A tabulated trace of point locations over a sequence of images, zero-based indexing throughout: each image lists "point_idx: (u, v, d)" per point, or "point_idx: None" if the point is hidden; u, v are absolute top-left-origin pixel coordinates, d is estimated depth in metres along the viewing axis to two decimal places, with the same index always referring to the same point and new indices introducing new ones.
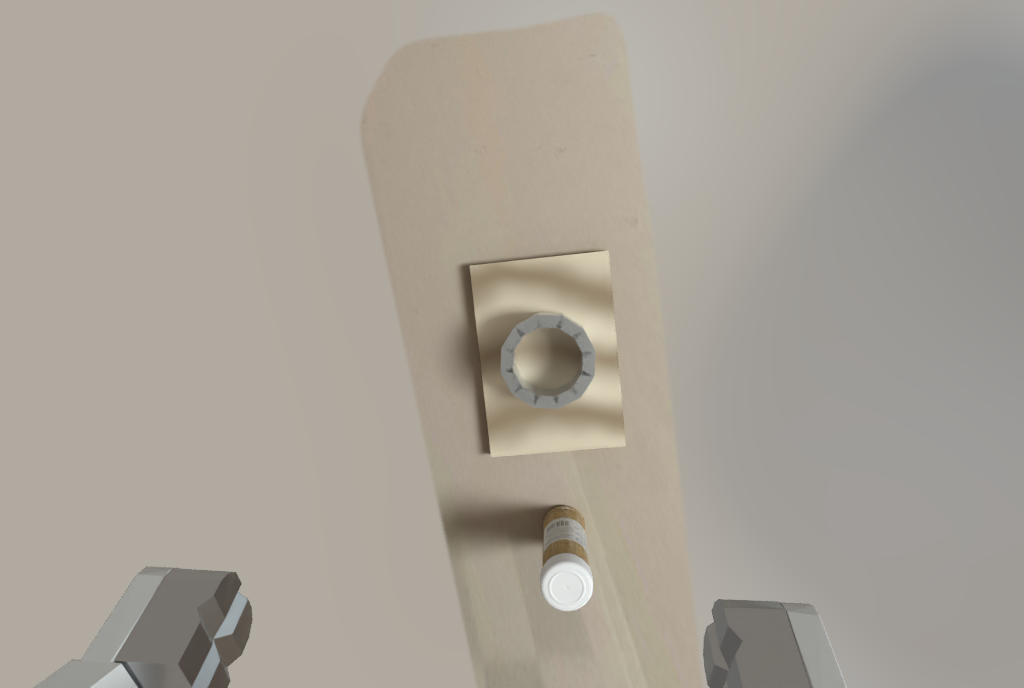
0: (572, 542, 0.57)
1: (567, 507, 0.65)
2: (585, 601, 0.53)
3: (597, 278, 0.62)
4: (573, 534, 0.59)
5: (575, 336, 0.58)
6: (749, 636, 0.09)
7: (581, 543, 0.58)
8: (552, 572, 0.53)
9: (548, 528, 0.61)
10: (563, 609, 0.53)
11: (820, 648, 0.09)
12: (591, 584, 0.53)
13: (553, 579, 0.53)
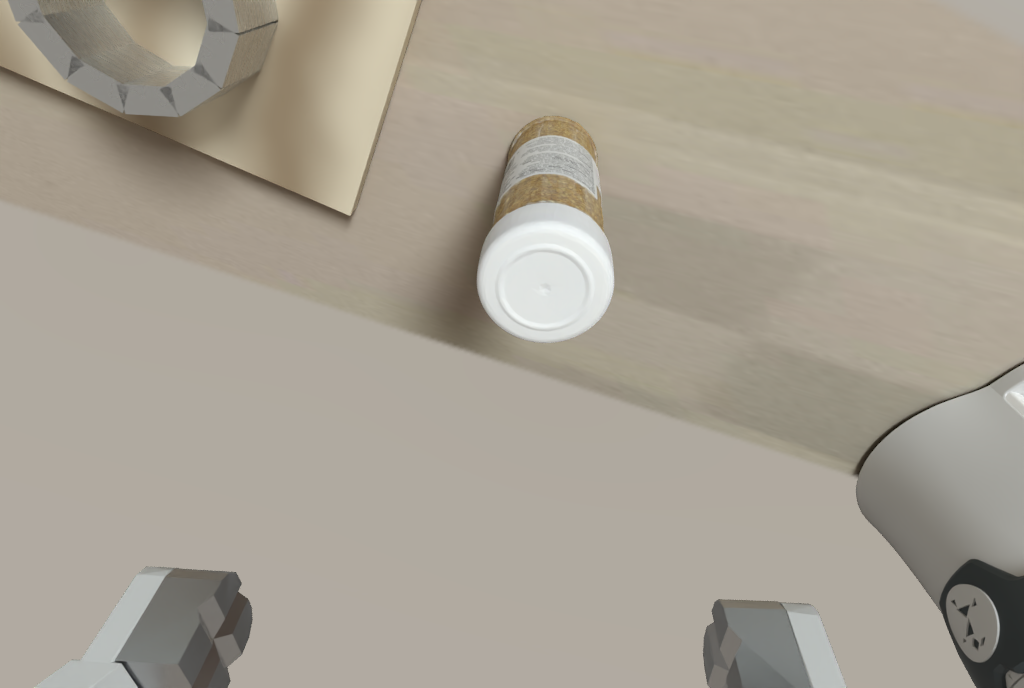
0: (510, 193, 0.23)
1: (518, 134, 0.30)
2: (604, 268, 0.19)
3: None
4: (514, 174, 0.24)
5: None
6: (749, 636, 0.09)
7: (534, 170, 0.23)
8: (491, 298, 0.20)
9: None
10: (591, 322, 0.21)
11: (820, 648, 0.09)
12: (572, 232, 0.19)
13: (507, 304, 0.20)
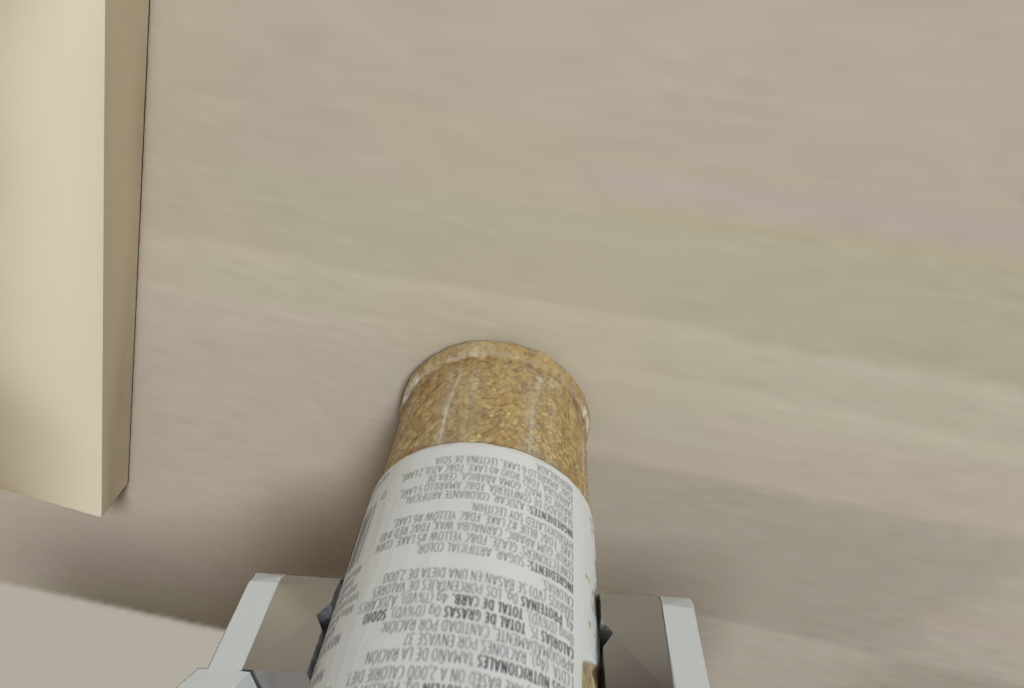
0: None
1: (414, 378, 0.14)
2: None
3: None
4: (331, 676, 0.08)
5: None
6: (620, 628, 0.09)
7: None
8: None
9: None
10: None
11: (688, 640, 0.09)
12: None
13: None
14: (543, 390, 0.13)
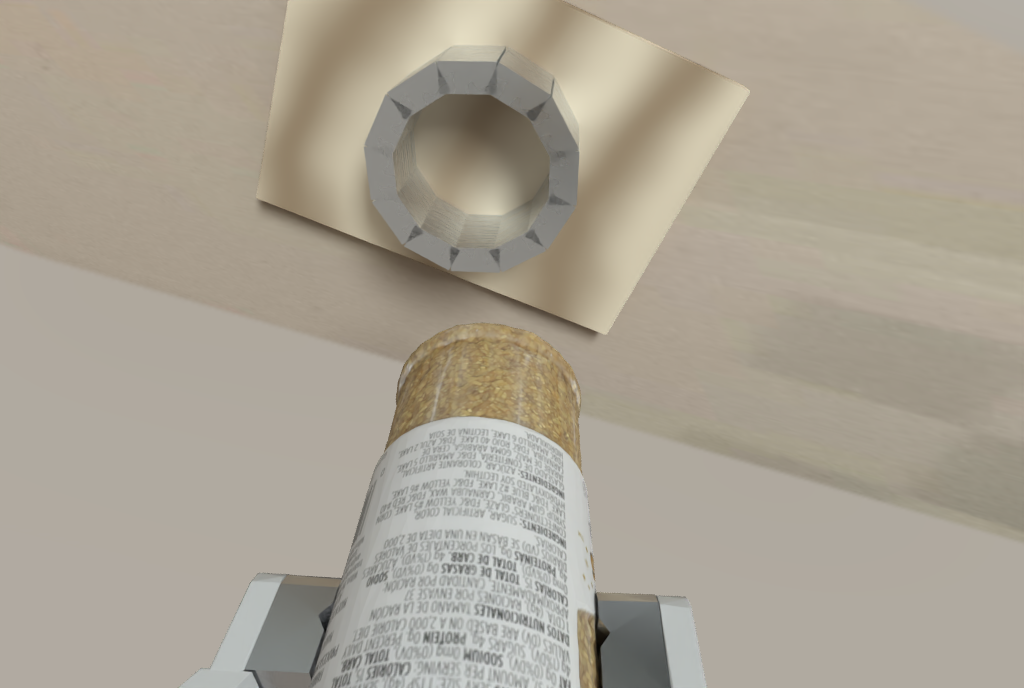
0: None
1: (407, 365, 0.14)
2: None
3: None
4: (339, 636, 0.08)
5: (443, 89, 0.24)
6: (617, 628, 0.09)
7: (380, 667, 0.08)
8: None
9: None
10: None
11: (685, 640, 0.09)
12: None
13: None
14: (531, 366, 0.13)
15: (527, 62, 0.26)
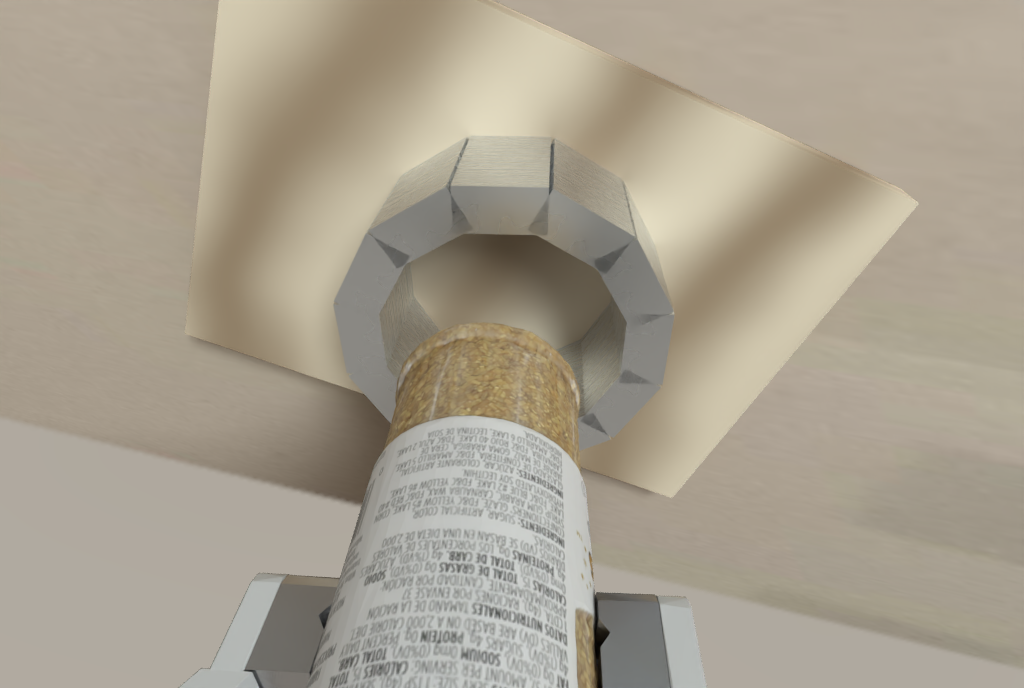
0: None
1: (407, 364, 0.14)
2: None
3: None
4: (336, 634, 0.08)
5: (460, 226, 0.15)
6: (617, 628, 0.09)
7: (377, 665, 0.08)
8: None
9: None
10: None
11: (685, 640, 0.09)
12: None
13: None
14: (530, 365, 0.13)
15: (585, 165, 0.17)
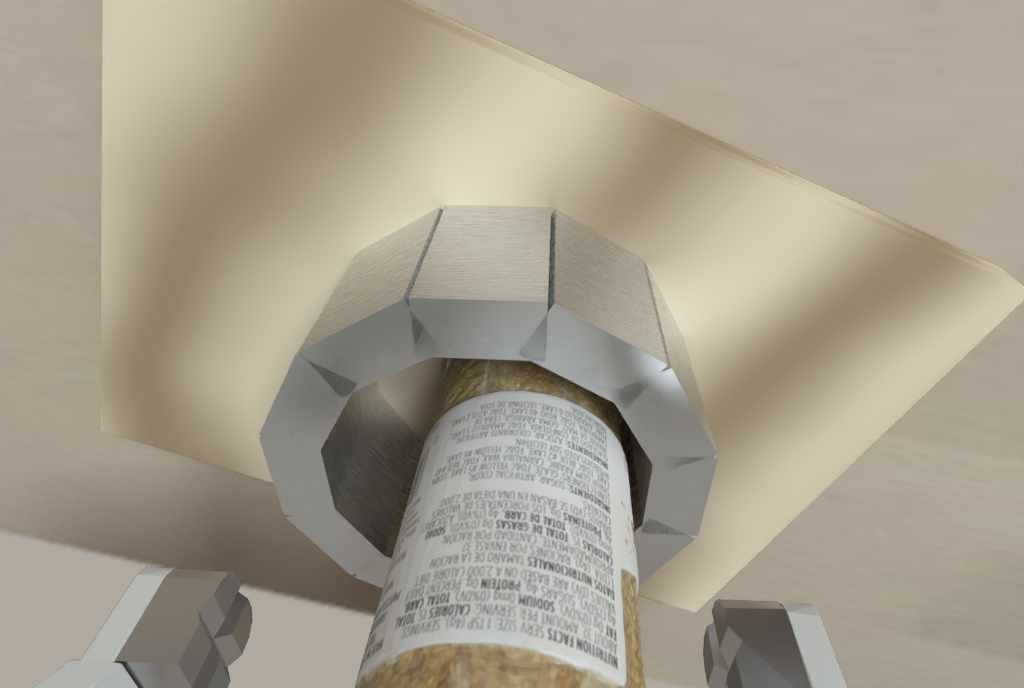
0: None
1: None
2: None
3: (250, 24, 0.12)
4: (401, 582, 0.09)
5: (424, 348, 0.11)
6: (749, 636, 0.09)
7: (441, 608, 0.08)
8: None
9: None
10: None
11: (820, 648, 0.09)
12: None
13: None
14: None
15: (596, 247, 0.13)
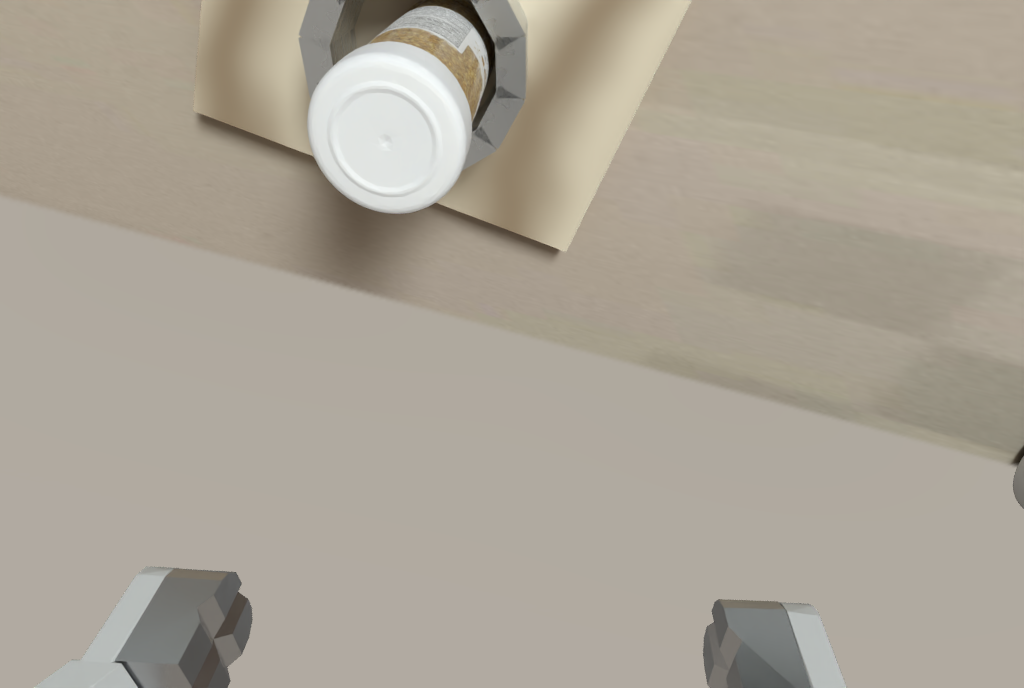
0: None
1: None
2: (445, 105, 0.17)
3: None
4: None
5: None
6: (749, 636, 0.09)
7: (387, 29, 0.20)
8: (329, 162, 0.18)
9: None
10: (449, 178, 0.18)
11: (820, 648, 0.09)
12: (397, 62, 0.16)
13: (349, 168, 0.18)
14: (463, 7, 0.26)
15: None
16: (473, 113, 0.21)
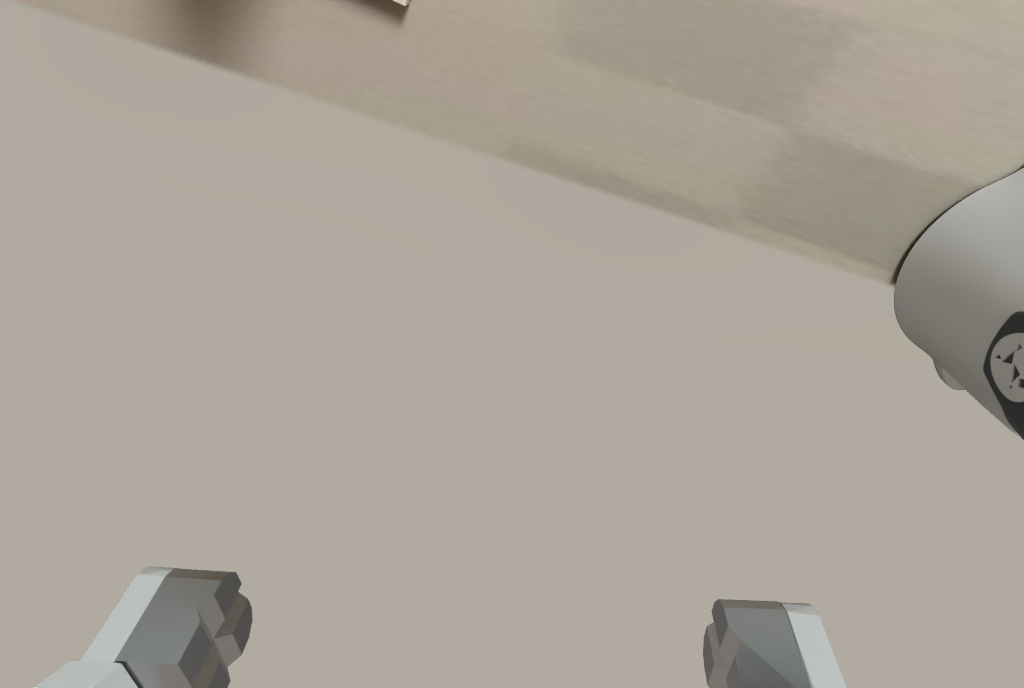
0: None
1: None
2: None
3: None
4: None
5: None
6: (749, 636, 0.09)
7: None
8: None
9: None
10: None
11: (820, 648, 0.09)
12: None
13: None
14: None
15: None
16: None
